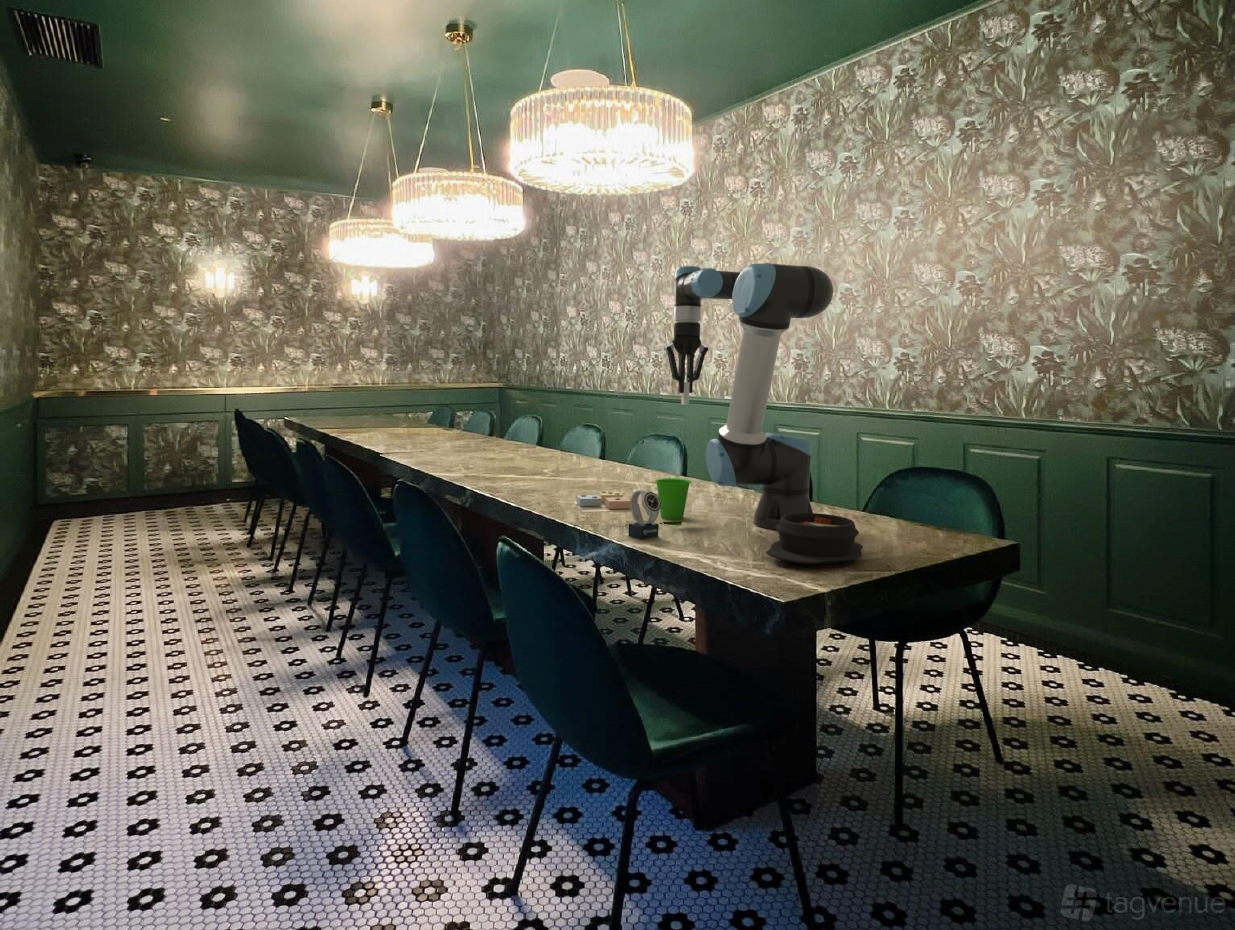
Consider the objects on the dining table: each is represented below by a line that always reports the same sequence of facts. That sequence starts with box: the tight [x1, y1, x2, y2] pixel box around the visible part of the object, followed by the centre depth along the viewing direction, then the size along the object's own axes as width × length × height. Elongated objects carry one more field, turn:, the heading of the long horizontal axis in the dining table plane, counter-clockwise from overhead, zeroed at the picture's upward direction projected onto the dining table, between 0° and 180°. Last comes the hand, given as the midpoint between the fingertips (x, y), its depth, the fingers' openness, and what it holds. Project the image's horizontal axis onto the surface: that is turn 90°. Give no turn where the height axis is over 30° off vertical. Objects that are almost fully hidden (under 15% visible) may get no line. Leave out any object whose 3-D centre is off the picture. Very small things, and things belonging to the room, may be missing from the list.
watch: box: [628, 489, 661, 541], centre depth 175 cm, size 6×8×11 cm
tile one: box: [605, 496, 631, 509], centre depth 204 cm, size 6×6×2 cm
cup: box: [654, 477, 692, 526], centre depth 191 cm, size 9×9×11 cm
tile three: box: [597, 490, 624, 502], centre depth 214 cm, size 6×6×2 cm
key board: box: [571, 498, 631, 513], centre depth 208 cm, size 19×15×2 cm
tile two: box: [576, 494, 602, 506], centre depth 207 cm, size 6×6×2 cm
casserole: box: [765, 512, 864, 565], centre depth 158 cm, size 25×19×8 cm
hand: (685, 404), depth 218 cm, fingers closed
